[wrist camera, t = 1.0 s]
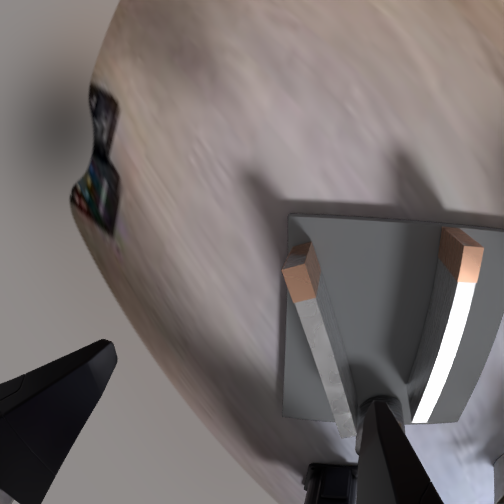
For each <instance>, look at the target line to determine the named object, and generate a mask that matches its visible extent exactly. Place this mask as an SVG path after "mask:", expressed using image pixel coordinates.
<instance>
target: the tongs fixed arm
mask: <svg viewBox="0 0 504 504" xmlns="http://www.w3.org/2000/svg"><path fill="white" fill-rule="evenodd" d="M483 251H484V247H483V246H481V245H480V244H479V243H478V242H476V241H475V240H474V239H473V238H471V237H470V236H469V235H467V234H466V233H465V232H464V231H462V230H461V229H460V228H452V227H442V230H441V238H440V245H439V252H438V264H437V270H436V275H435V281H434V286H433V291H432V296H431V300H430V305H429V309H428V313H427V318H426V322H425V326H424V330H423V333H422V337H421V341H420V344H419V348H418V351H417V355H416V358H415V361H414V365H413V368H412V371H411V374H410V377H409V380H408V383H407V386H406V389H407V395H408V401H409V408H410V414H411V422H412V423H422V422H427V421H428V418H429V416H430V414H431V412H432V410H433V408H434V406H435V403H436V401H437V399H438V397H439V394H440V392H441V390H442V387H443V385H444V382H445V380H446V377H447V375H448V372H449V370H450V367H451V364H452V362H453V359H454V356H455V353H456V350H457V347H458V344H459V341H460V338H461V335H462V332H463V329H464V326H465V322H466V319H467V315H468V312H469V308H470V304H471V301H472V297H473V293H474V289H475V284H476V283H477V281H478V276H479V271H480V267H481V262H482V256H483Z"/></svg>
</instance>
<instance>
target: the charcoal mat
mask: <svg viewBox="0 0 504 504" xmlns="http://www.w3.org/2000/svg"><path fill="white" fill-rule="evenodd" d="M442 227H452V228H460V229H461V230H462V231H464V232H465V233H466V234H467V235H469V236H470V237H471V238H473V239H474V240H475V241H476V242H478V243H479V244H480V245H481V246H483V247H484V251H483V256H482V262H481V267H480V271H479V276H478V281H477V283H476V284H475V289H474V293H473V297H472V301H471V304H470V308H469V312H468V315H467V319H466V322H465V326H464V329H463V332H462V335H461V338H460V341H459V344H458V347H457V350H456V353H455V356H454V359H453V362H452V364H451V367H450V370H449V372H448V375H447V377H446V380H445V382H444V385H443V387H442V390H441V392H440V394H439V397H438V399H437V401H436V403H435V406H434V408H433V410H432V412H431V414H430V416H429V418H428V421H427V422H422V423H412V422H411V414H410V408H409V401H408V395H407V389H406V386H407V383H408V380H409V377H410V374H411V371H412V368H413V365H414V361H415V358H416V355H417V351H418V348H419V344H420V341H421V337H422V333H423V330H424V326H425V322H426V318H427V313H428V309H429V305H430V300H431V296H432V291H433V286H434V281H435V275H436V270H437V264H438V252H439V245H440V238H441V230H442ZM310 241H312V243H313V246H314V249H315V252H316V255H317V258H318V261H319V264H320V268H321V274H322V277H323V280H324V283H325V286H326V289H327V292H328V296H329V299H330V302H331V305H332V309H333V312H334V315H335V319H336V322H337V325H338V329H339V332H340V336H341V339H342V343H343V346H344V350H345V353H346V357H347V361H348V364H349V368H350V372H351V375H352V379H353V383H354V387H355V390H356V394H357V398H358V408H359V406H360V405H361V404H362V403H363V402H364V401H366V400H368V399H370V398H372V397H376V396H382V395H386V396H392V397H395V398H397V399H398V400H399V401H400V402H401V404H402V409H403V417H404V425H408V424H437V423H452V422H457V421H458V420H459V418H460V416H461V414H462V412H463V410H464V408H465V406H466V404H467V402H468V400H469V398H470V396H471V394H472V392H473V390H474V388H475V386H476V384H477V382H478V379H479V377H480V375H481V373H482V370H483V368H484V365H485V363H486V361H487V358H488V356H489V353H490V351H491V348H492V345H493V343H494V340H495V337H496V334H497V332H498V329H499V326H500V323H501V320H502V317H503V313H504V229H497V228H488V227H479V226H469V225H459V224H448V223H437V222H426V221H413V220H400V219H386V218H372V217H356V216H338V215H319V214H297V213H290V214H289V215H288V255H289V253H290V251H291V249H292V247H293V246H297V245H300V244H304V243H307V242H310ZM282 417H289V418H297V419H305V420H315V421H325V422H335V419H334V416H333V413H332V410H331V407H330V404H329V401H328V398H327V395H326V392H325V389H324V386H323V383H322V380H321V377H320V374H319V371H318V368H317V366H316V363H315V360H314V357H313V354H312V351H311V348H310V345H309V343H308V340H307V337H306V334H305V331H304V328H303V326H302V323H301V320H300V317H299V314H298V312H297V309H296V306H295V303H293V301H292V298H291V295H290V293H289V290H288V287H287V311H286V343H285V369H284V391H283V410H282Z"/></svg>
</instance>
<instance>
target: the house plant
mask: <svg viewBox="0 0 504 504" xmlns="http://www.w3.org/2000/svg"><path fill="white" fill-rule="evenodd" d="M494 504H504V454H503V455H502V456H501V457H500V458H498V460H497V461H496V462H495V464H494Z"/></svg>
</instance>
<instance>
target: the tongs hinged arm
mask: <svg viewBox="0 0 504 504" xmlns="http://www.w3.org/2000/svg"><path fill="white" fill-rule="evenodd" d="M281 271H282V273H283V276H284V279H285V282H286V284H287V287H288V290H289V293H290V295H291V298H292V301H293V303H295V306H296V309H297V312H298V314H299V317H300V320H301V323H302V326H303V328H304V331H305V334H306V337H307V340H308V343H309V345H310V348H311V351H312V354H313V357H314V360H315V363H316V366H317V368H318V371H319V374H320V377H321V380H322V383H323V386H324V389H325V392H326V395H327V398H328V401H329V404H330V407H331V410H332V413H333V416H334V419H335V422H336V425H337V428H338V431H339V434H340V437H341V438H347V437H354V436H356V447H355V450H356V453H357V454H358V455H359V453H360V446H361V439H362V431H363V423H364V418H365V415H366V413H367V411H368V409H369V407H370V405H371V403H372V402H373V401H374V400H380V401H385V402H386V403H387V404H388V406H389V407H390V409H391V411H392V413H393V414H394V416H395V418H396V419H397V421H398V423H399V425H400V426H401V428H402V430H403V432H404V433H405V426H404V417H403V409H402V404H401V402H400V401H399V400H398V399H397V398H395V397H392V396H386V395H382V396H376V397H372V398H370V399H368V400H366V401H364V402H363V403H362V404H361V405H360V406H359V408H358V398H357V394H356V390H355V387H354V383H353V379H352V375H351V372H350V368H349V364H348V361H347V357H346V353H345V350H344V346H343V343H342V339H341V336H340V332H339V329H338V325H337V322H336V319H335V315H334V312H333V309H332V305H331V302H330V299H329V296H328V292H327V289H326V286H325V283H324V280H323V277H322V274H321V268H320V264H319V261H318V258H317V255H316V252H315V249H314V246H313V243H312V241H310V242H307V243H304V244H300V245H297V246H293V247H292V249H291V251H290V253H289V255H288V257H287V259H286V261H285V264H284V266H283V268H282V270H281Z"/></svg>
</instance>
